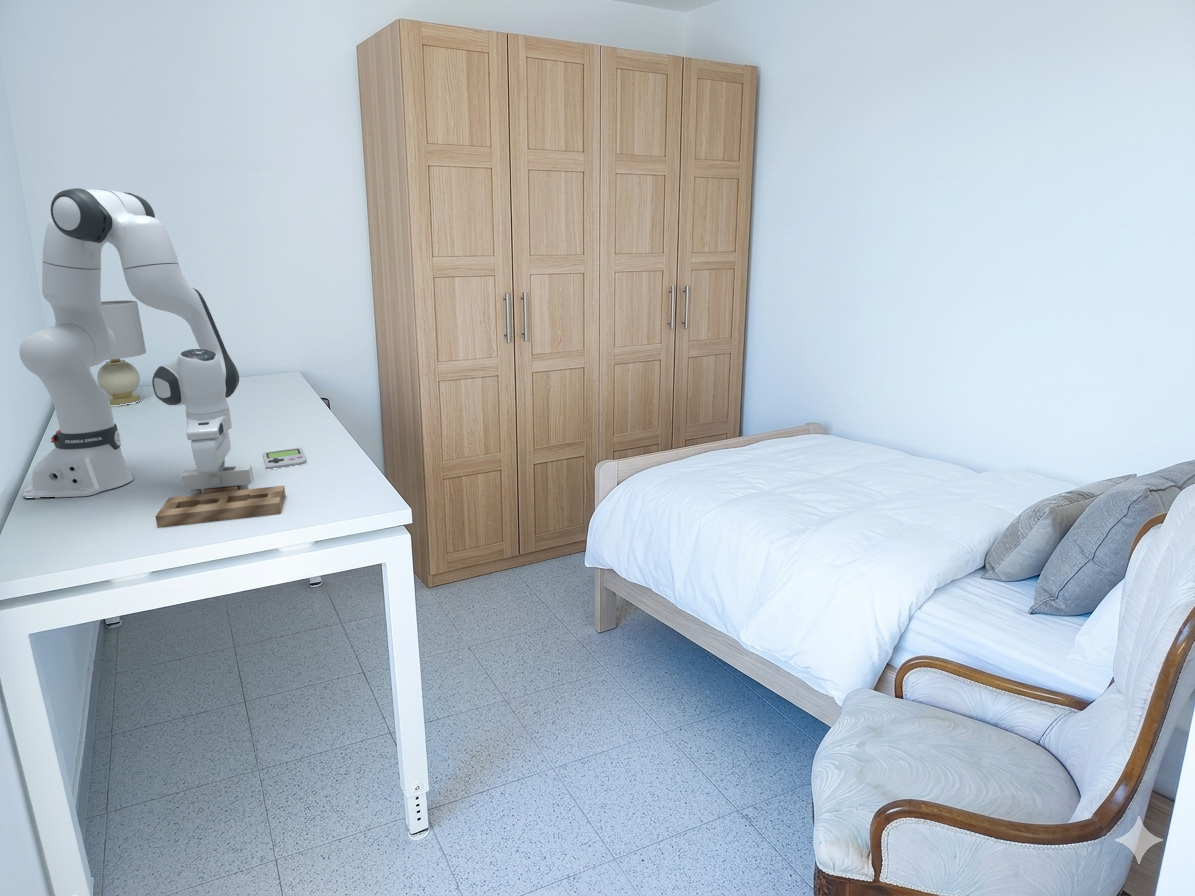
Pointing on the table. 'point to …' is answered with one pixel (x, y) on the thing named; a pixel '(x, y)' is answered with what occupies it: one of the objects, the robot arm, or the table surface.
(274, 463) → the handheld gaming console
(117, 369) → the lamp
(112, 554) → the table surface
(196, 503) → the keyhole board
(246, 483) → the power strip
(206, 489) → the brown block
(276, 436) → the table surface
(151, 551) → the table surface
